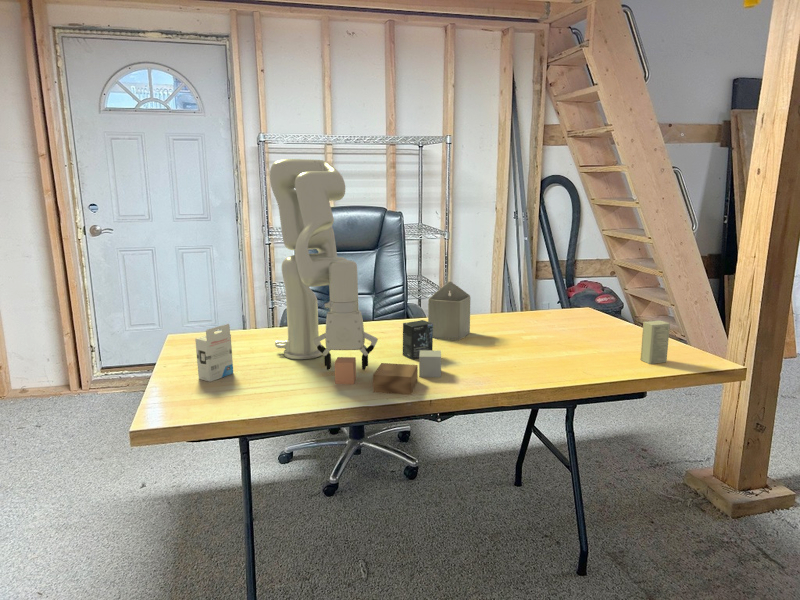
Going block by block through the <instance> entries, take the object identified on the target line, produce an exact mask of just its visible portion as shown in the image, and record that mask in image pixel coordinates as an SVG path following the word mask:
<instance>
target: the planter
mask: <svg viewBox="0 0 800 600" xmlns="http://www.w3.org/2000/svg"><path fill="white" fill-rule="evenodd" d="M449 294H450V295H449ZM427 302H428V303H427V307H428V309H427V310H428V311H427V314H428V315H427V322H430V323H433V339H441V340H450V341H451V340H453V341H460V340H461V339H463V338H465V337H467V336H468V335H469V334H470V333H471V295H470V294H469V293H467V292H466V291H465V290H463V289H462V288H461V287H459V286H458V285H457V284H455V283H453V282H452V281H450V280H449V281H448V282H446V283H445V284H444V285H442V287H440V288H439V289H438V290H437V291H435V293H433V294H432V296H430V297H429V298H428V301H427Z"/></svg>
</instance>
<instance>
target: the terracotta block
mask: <svg viewBox="0 0 800 600" xmlns="http://www.w3.org/2000/svg"><path fill="white" fill-rule="evenodd" d="M356 361H357V358H356V357H354V356H350V357H349V356H338V357H337V358H336V360H335V361H334V381H335V382H334V384H336V385H354V384H355V382H356V379H357V362H356Z"/></svg>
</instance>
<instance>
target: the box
mask: <svg viewBox="0 0 800 600" xmlns="http://www.w3.org/2000/svg"><path fill="white" fill-rule="evenodd" d="M433 339H434V338H433V323H430V322H428V320H424V319H420V320H414V321H409V322H403V323H402V356H404V357H406V358H408V359H410V360H415V359H419V355H420V350H432V351H433Z"/></svg>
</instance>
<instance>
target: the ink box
mask: <svg viewBox="0 0 800 600" xmlns="http://www.w3.org/2000/svg"><path fill="white" fill-rule="evenodd" d="M194 341H195V348H196V349H195V351H196V353H195V354H196V362H197V363H196V364H197V375H198V380H202V381H206V382H208V383H209V382H211V383H212V382H214V381H216V380H218V379H219V380H220V379H222V378H224V377H227V376H230V375H232V374H234V363H233V362H234V361H233V349H232V347H233V346H232V334H231V327H230V324H229V323H226V324H223V325H219V326H215V327H212V328H207V329H206V330H205V335H204V336H201V337H196V338H195V339H194Z"/></svg>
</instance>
